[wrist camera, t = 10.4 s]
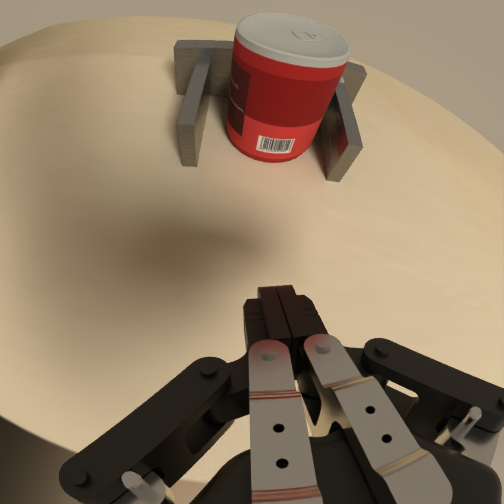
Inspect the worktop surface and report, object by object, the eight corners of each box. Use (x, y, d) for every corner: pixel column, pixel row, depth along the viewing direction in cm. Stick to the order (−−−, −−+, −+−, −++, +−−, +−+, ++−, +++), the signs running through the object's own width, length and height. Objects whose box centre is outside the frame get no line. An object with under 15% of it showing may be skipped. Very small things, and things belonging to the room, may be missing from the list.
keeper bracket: (362, 186, 24) (394, 146, 18) (155, 165, 22) (142, 114, 16) (343, 105, 27) (363, 66, 22) (180, 85, 26) (177, 40, 20)
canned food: (326, 142, 25) (371, 51, 15) (265, 181, 23) (298, 71, 12) (272, 97, 26) (294, 7, 16) (209, 127, 24) (212, 21, 14)
